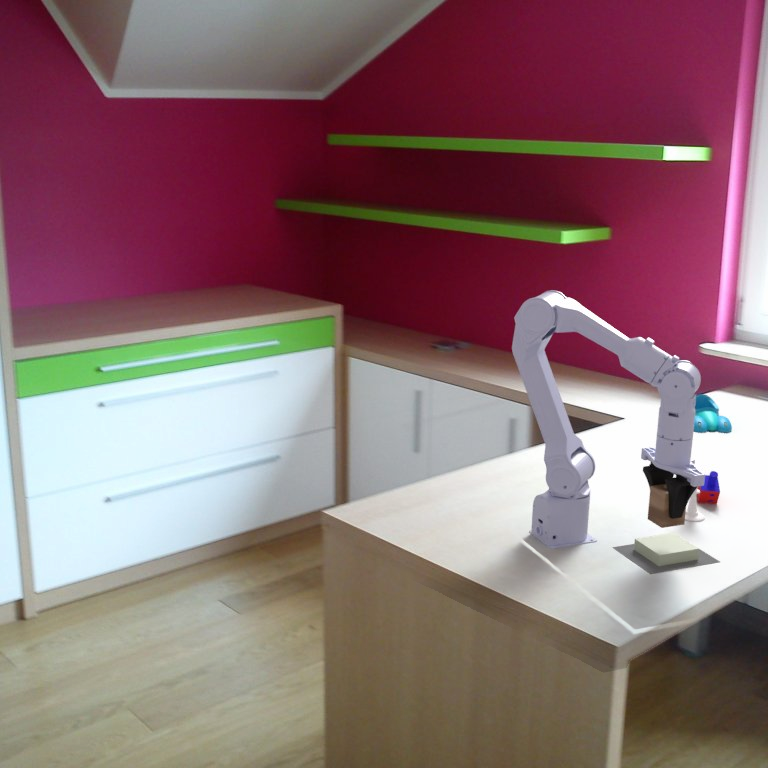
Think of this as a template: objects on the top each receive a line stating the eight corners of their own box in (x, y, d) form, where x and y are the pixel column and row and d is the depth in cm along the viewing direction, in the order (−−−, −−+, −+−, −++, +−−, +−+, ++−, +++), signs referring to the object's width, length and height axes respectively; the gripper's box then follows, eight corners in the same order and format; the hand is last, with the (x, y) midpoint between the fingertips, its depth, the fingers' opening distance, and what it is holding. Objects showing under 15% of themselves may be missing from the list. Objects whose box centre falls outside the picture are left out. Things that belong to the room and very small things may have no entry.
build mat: (650, 576, 162) (650, 573, 161) (612, 549, 172) (612, 547, 171) (720, 564, 166) (720, 561, 166) (679, 539, 176) (679, 536, 176)
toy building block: (696, 508, 195) (703, 481, 190) (694, 492, 198) (701, 464, 193) (715, 509, 195) (722, 482, 189) (712, 493, 198) (719, 465, 192)
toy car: (712, 413, 255) (715, 388, 254) (736, 434, 238) (739, 408, 236) (670, 412, 255) (673, 387, 254) (691, 434, 238) (694, 407, 236)
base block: (658, 566, 164) (659, 555, 164) (633, 549, 171) (634, 538, 170) (698, 559, 167) (699, 548, 167) (672, 543, 173) (673, 532, 173)
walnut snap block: (661, 527, 164) (665, 491, 162) (647, 519, 168) (650, 483, 166) (684, 524, 166) (688, 488, 164) (669, 515, 169) (673, 480, 168)
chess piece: (683, 512, 189) (688, 462, 186) (709, 518, 186) (714, 468, 183) (673, 519, 185) (678, 469, 183) (698, 526, 182) (704, 475, 180)
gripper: (723, 446, 158) (715, 525, 161) (668, 420, 171) (661, 494, 174) (687, 450, 155) (679, 531, 159) (633, 424, 168) (627, 499, 172)
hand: (667, 512), depth 166 cm, fingers closed on walnut snap block, 4 cm apart
